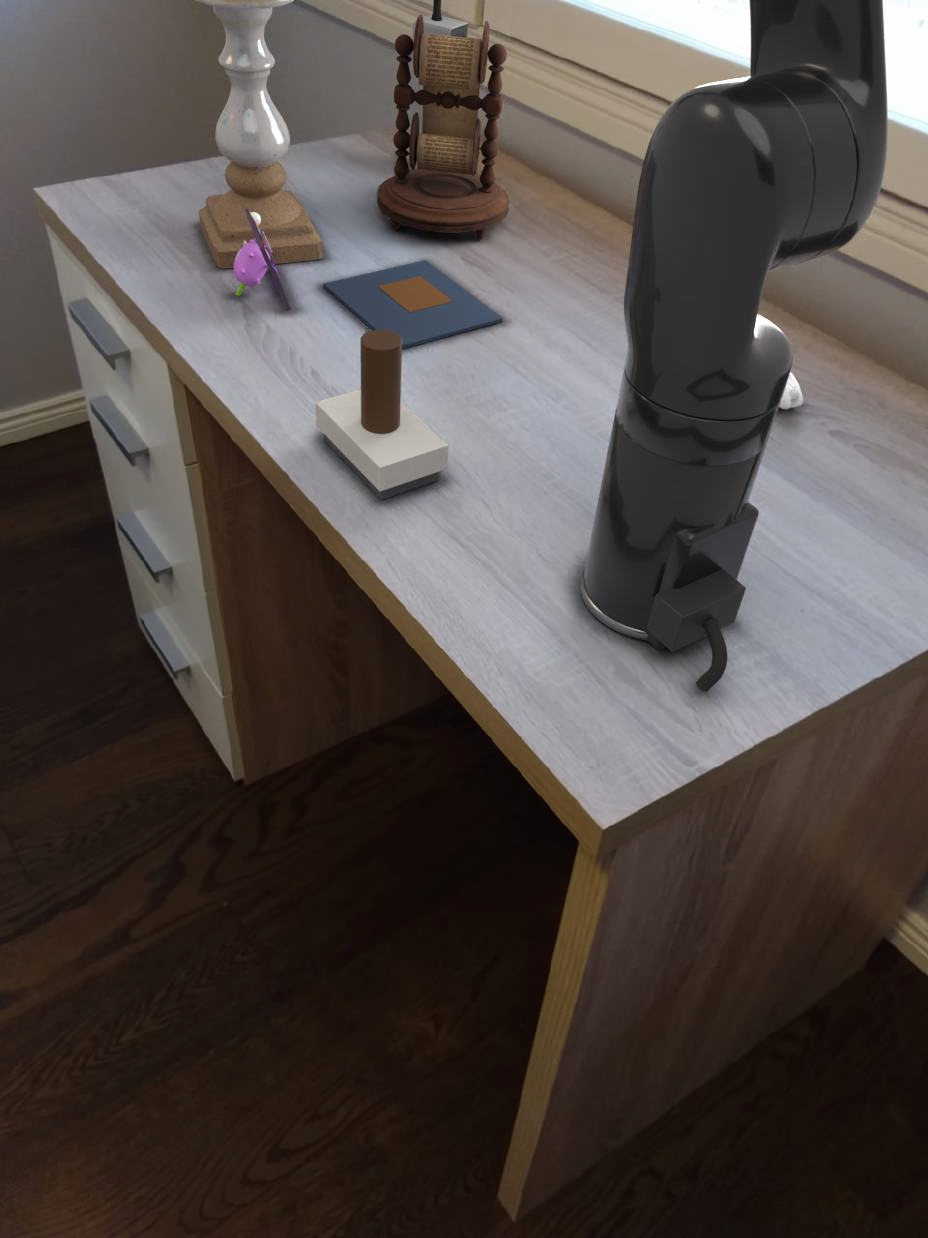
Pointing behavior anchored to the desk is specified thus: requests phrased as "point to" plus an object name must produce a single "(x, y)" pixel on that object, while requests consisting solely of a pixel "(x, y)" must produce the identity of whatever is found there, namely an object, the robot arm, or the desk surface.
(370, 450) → the stamp
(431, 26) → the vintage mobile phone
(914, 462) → the desk surface
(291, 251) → the candle holder
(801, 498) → the desk surface
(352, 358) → the desk surface
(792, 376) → the white rounded piece
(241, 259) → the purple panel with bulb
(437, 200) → the scroll
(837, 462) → the desk surface
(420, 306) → the mat
